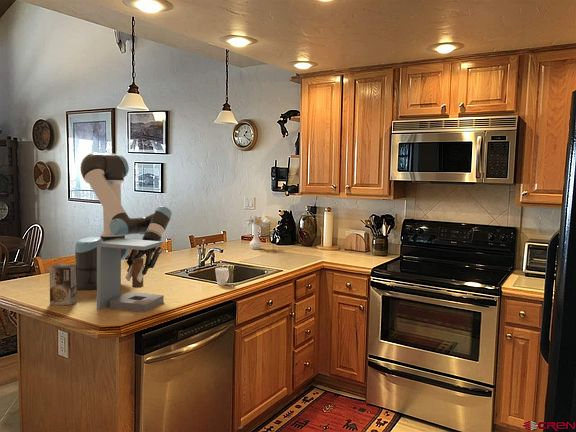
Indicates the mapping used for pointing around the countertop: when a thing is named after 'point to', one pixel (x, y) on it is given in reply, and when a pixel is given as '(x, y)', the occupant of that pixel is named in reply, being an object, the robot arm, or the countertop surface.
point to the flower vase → (256, 231)
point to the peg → (137, 272)
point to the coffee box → (63, 284)
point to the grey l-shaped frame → (114, 266)
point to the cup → (222, 275)
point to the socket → (136, 301)
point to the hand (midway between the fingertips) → (133, 279)
